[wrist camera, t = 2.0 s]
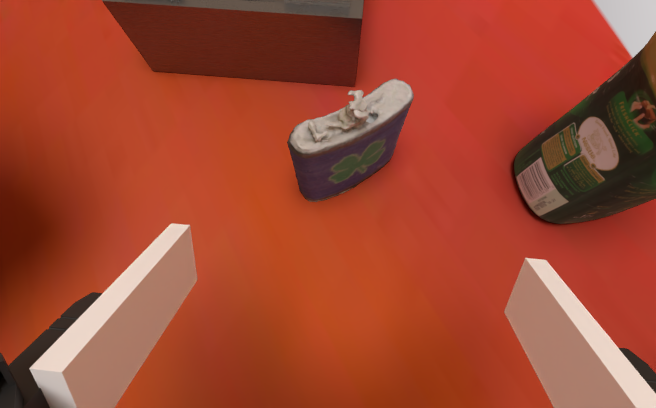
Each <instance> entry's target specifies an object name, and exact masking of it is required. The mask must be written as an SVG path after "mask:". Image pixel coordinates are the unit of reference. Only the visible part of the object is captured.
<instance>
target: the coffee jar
mask: <svg viewBox="0 0 656 408" xmlns="http://www.w3.org/2000/svg"><path fill="white" fill-rule="evenodd" d="M514 172H515V178H516V182H517V185H518V188H519V191H520V193H521V195H522V197H523V199H524V200H525V202H526V203H527V205H528V206H529V208H530V209H531V210H532V211H533V212H534V213H535V214H536V215H537V216H538V217H540V218H541V219H543V220H546V221H548V222H551V223H557V224H564V223H566V224H567V223H577V222H584V221H590V220H595V219H599V218H603V217H607V216H610V215H613V214H616V213H619V212H622V211H624V210H627V209H630V208H632V207H635V206H638V205H640V204H643V203H645V202H648V201H651V200H653V199H656V32H655V33H654V35H653V36H652V37H651V39H650V40H649V42H648V43H647V44H646V45H645V47H644V48H643V49H642V50H641V51H640V52H639V53H638V54H637V55H636V56H635V57H634V58H632V59H631V60H630V61H629V62H628V63H627V64H626V65H625V66H624V67H622V68H621V69H620V70H619V71H618V72H616V73H615V74H614V75H613V76H612V77H610V78H609V79H608V80H607V81H605V82H604V83H603V84H602V85H601V86H599V87H598V88H597V89H596V90H594V91H593V92H592V93H591V94H590V95H588V96H587V97H586V98H585V99H584V100H582V101H581V102H580V103H579V104H577V105H576V106H575V107H574V108H573V109H571V110H570V111H569V112H567V113H566V114H565V115H564V116H562V117H561V118H560V119H559V120H557V121H556V122H555V123H553V124H552V125H551V126H549V127H548V128H547V129H546V130H544V131H543V132H542V133H540V134H539V135H538V136H537V137H535V138H534V139H533V140H532V141H531V142H529V143H528V144H527V145H526V146H525V147H523V148H522V149H521V150H520V151H519V152H518V154H517V156H516V158H515V161H514Z"/></svg>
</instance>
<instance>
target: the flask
mask: <svg viewBox="0 0 656 408" xmlns="http://www.w3.org/2000/svg"><path fill="white" fill-rule="evenodd" d="M348 95H353V96H354V101H350V102H349V105H347V106H346V107H344V108H342V109H340V110H339V111H336V112H334V113H331V114H329V115H326V116H323V117H319V118H316V119H310V120H306V121H304V122H302V123H300V124H298V125H297V126H296V127H295V128H294V130H293V131H292V132H291V134H290V136H289V140H288V142H287V143H288V147H289V149H290V154H291V157H292V161H293V165H294V168H295V172H296V177H297V180H298V185H299V189H300V192H301V193H302V194H303V195H304V197H305V199H307V200H308V201H310V202H311V201H312V202H317V201H322V200H326V199H329V198H331V197H333V196H337V195H339V194H341V193H344V192H346V191H348V190H349V189H351V188H354V187H355V186H356V185H357V184H359V183H360V182H363V181H364V180H365V179H367V178H368V177H369V176H371V175H372V174H374V173H376V172H377V171H378V170H380V169H381V168H382V167H383V166H384V165H386V164H387V162H389V160H390V159H391V157H392V155H393V153H394V149H395V147H396V143H397V140H398V137H399V134H400V132H401V129H402V127H403V124H404V121H405V118H406V116H407V113H408V110H409V108H410V105H411V103H412V101H413V97H414V95H413V91H412V89H411V87H410V85H408V84H406V83H405V82H404V81H400V80H398V79H392V80H389V81H387V82H385V83H383V84H381V85H380V86H379V87H378V88H376V89H375V90H373V91H372V92H371V93H370V94H368V95H367V96H365V97H363V98H362V96H363V91H361V90H357V91H349V92H348Z"/></svg>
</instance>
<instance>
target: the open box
mask: <svg viewBox="0 0 656 408" xmlns="http://www.w3.org/2000/svg"><path fill="white" fill-rule="evenodd" d="M102 1H103V3H104V4H105V5H106V7H107V8H108V10H109V11H110V12H111V14H112V15H113V16H114V18H115V19H116V21H117V22H118V23H119V25H120V26H121V27H122V29H123V30H124V32H125V33H126V34H127V36H128V37H129V38H130V40H131V41H132V43H133V44H134V45H135V47H136V48H137V49H138V51H139V52H140V54H141V55H142V56H143V58H144V59H145V60H146V62H147V63H148V65H149V66H150V67H151V69H152V70H153V71H156V72H169V73H182V74H195V75H208V76H221V77H234V78H247V79H261V80H274V81H287V82H300V83H313V84H326V85H339V86H352V87H355V82H356V73H357V63H358V54H359V44H360V34H361V25H362V14H363V3H364V0H102Z"/></svg>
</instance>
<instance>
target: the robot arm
mask: <svg viewBox="0 0 656 408" xmlns="http://www.w3.org/2000/svg"><path fill="white" fill-rule="evenodd" d="M196 281H197V273H196V265H195V258H194V250H193V243H192V236H191V228H190V225H183V224H172V223H171V224H170V225H169V226H168V227H167V228H166V229H165V230H164V231H163V232H162V233H161V234H160V235H159V237H158V238H157V239H156V240H155V241H154V242H153V243H152V244H151V245H150V246H149V247H148V248H147V249H146V250H145V251H144V252H143V253H142V254H141V255H140V256H139V257H138V258H137V259H136V260H135V261H134V262H133V263H132V264H131V265H130V266H129V267H128V268H127V269H126V270H125V271H124V272H123V273H122V274H121V275H120V276H119V277H118V278H117V279H116V280H115V281H114V282H113V284H112V285H111V286H110V287H109V288H108V289H107V290H106V291H105V292H104V293H94V292H92V293H90V294H89V295H87V296H85V297H84V298H82V299H80V300H78V301H77V302H75V303H74V304H73V305H72V306H71V307H70V308H69V309H67V310H66V311H65V312H64V313H63V314H62V315H61V318H60V319H57V320H56V321H55V322H54V323H53V324H52V325H51V326H50V327H49V329H48V330H45V331H44V332H43V333H42V334H41V335H40V336H39V337H38V338H37V339H36V340H35V341H34V342H33V343H32V344H31V345H30V346H29V347H28V348H27V349H26V350H24V351H23V352H22V353H21V354H20V355H19V356H18V357H17V358H16V359H15V360H14V361H13V362H12V363H11V364H10V365H9V366H8V365H7V363H6V361H5V359H4V357H3V356H2V354H1V353H0V408H115V406H116V405H117V403H118V401H119V400H120V398H121V397H122V395H123V394H124V392H125V391H126V389H127V388H128V386H129V385H130V383H131V381H132V380H133V378H134V377H135V375H136V374H137V372H138V371H139V369H140V368H141V366H142V364H143V363H144V361H145V360H146V358H147V357H148V355H149V354H150V352H151V351H152V349H153V348H154V346H155V344H156V343H157V341H158V340H159V338H160V337H161V335H162V334H163V332H164V331H165V329H166V328H167V326H168V324H169V323H170V321H171V320H172V318H173V317H174V315H175V314H176V312H177V311H178V309H179V308H180V306H181V304H182V303H183V301H184V300H185V298H186V297H187V295H188V294H189V292H190V291H191V289H192V288H193V286H194V284H195V283H196ZM504 313H505V315H506V317H507V318H508V320H509V322H510V324H511V326H512V328H513V330H514V332H515V334H516V336H517V338H518V340H519V341H520V343H521V345H522V347H523V349H524V351H525V353H526V355H527V357H528V359H529V361H530V363H531V365H532V366H533V368H534V370H535V372H536V374H537V376H538V378H539V380H540V382H541V384H542V386H543V388H544V389H545V391H546V393H547V395H548V397H549V399H550V401H551V403H552V405H553V407H554V408H656V374H655V372H654V371H653V370H652V369H651V368H650V367H649V366H648V364H646V363H645V362H644V361H643V360H641V359H640V358H639V357H637V356H636V355H635V354H634V353H632V352H631V351H630V350H628V349H625V348H618V347H617V346H616V345H615V343H614V342H613V341H612V340H611V339H610V337H609V336H608V335H607V334H606V333H605V331H604V330H603V329H602V328H601V326H600V325H599V324H598V323H597V322H596V320H595V319H594V318H593V317H592V316H591V314H590V313H589V312H588V311H587V309H586V308H585V307H584V306H583V305H582V303H581V302H580V301H579V300H578V299H577V297H576V296H575V295H574V294H573V292H572V291H571V290H570V289H569V288H568V286H567V285H566V284H565V283H564V281H563V280H562V279H561V278H560V277H559V275H558V274H557V273H556V272H555V271H554V269H553V268H552V267H551V266H550V264H549V263H548V262H547V261H546V260H541V259H530V258H525V260H524V263H523V265H522V268H521V270H520V273H519V275H518V278H517V280H516V283H515V286H514V288H513V291H512V293H511V296H510V298H509V301H508V303H507V306H506V308H505V311H504Z"/></svg>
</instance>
